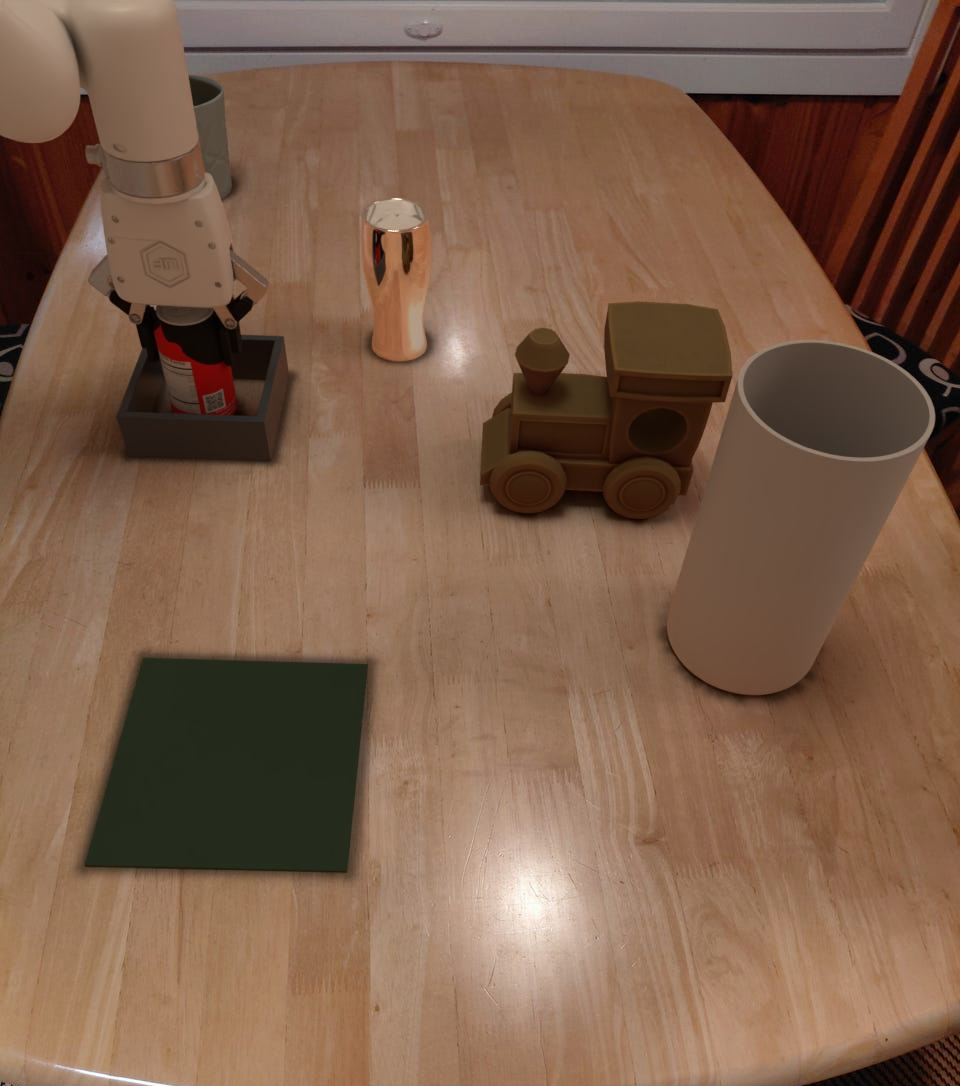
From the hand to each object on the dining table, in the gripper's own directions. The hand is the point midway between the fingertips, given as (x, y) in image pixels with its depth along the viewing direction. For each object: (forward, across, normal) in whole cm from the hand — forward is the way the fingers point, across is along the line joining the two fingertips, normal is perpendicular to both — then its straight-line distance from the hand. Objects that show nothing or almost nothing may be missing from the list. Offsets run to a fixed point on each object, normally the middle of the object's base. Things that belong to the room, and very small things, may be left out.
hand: (194, 354), depth 91 cm
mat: (+7, +10, -40) cm, 42 cm away
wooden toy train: (+7, +38, -8) cm, 39 cm away
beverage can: (+7, 0, 0) cm, 7 cm away
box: (+7, +1, 0) cm, 7 cm away
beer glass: (+7, +19, +13) cm, 24 cm away
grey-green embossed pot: (+7, -9, +46) cm, 48 cm away
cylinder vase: (+7, +50, -27) cm, 57 cm away
